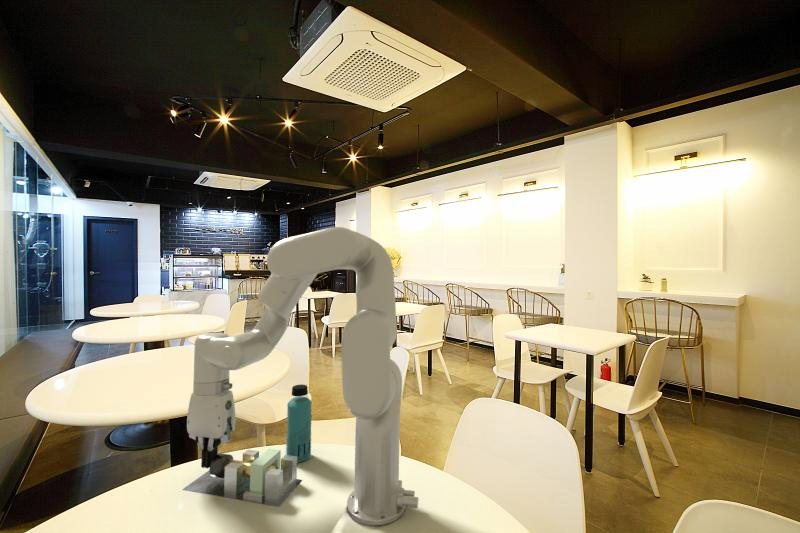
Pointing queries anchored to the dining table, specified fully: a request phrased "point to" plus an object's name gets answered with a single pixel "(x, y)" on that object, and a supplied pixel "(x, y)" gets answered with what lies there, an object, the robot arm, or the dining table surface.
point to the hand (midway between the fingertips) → (209, 464)
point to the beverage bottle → (299, 424)
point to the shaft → (223, 460)
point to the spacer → (262, 469)
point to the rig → (238, 487)
